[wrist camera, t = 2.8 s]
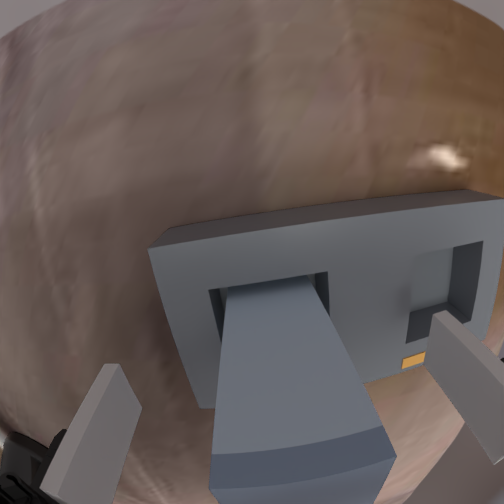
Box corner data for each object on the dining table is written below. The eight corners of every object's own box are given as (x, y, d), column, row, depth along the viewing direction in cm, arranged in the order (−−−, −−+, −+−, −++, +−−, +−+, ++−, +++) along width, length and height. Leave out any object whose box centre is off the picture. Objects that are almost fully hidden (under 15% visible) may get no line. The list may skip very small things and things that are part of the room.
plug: (241, 336, 17) (242, 531, 6) (229, 276, 16) (209, 489, 4) (306, 326, 17) (369, 510, 6) (301, 265, 16) (396, 455, 4)
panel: (206, 368, 19) (199, 410, 15) (169, 228, 16) (146, 249, 12) (456, 314, 19) (485, 339, 15) (467, 189, 16) (507, 199, 12)
